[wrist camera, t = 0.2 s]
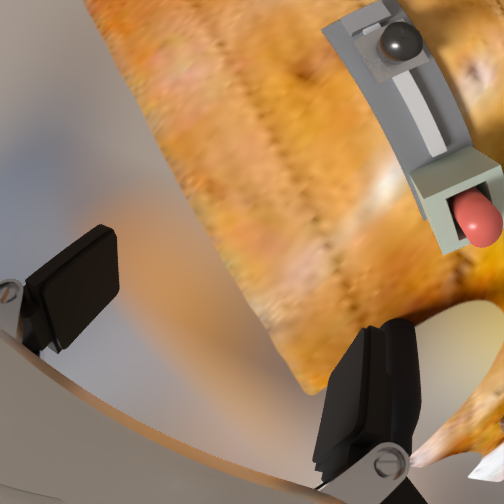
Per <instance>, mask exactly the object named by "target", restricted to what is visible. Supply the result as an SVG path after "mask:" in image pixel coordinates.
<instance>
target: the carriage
mask: <svg viewBox="0 0 504 504" xmlns="http://www.w3.org/2000/svg"><path fill="white" fill-rule="evenodd" d="M353 45H354V47H355V48H356V50H357V51H358V53H359V54H360V56H361V57H362V59H363V61H364V62H365V64H366V65H367V67H368V68H369V70H370V72H371V73H372V75H373V77H374V78H375V80H376V82H377V83H382V82H384V81H386V80H388V79H390V78H392V77H395V76H397V75H399V74H401V73H403V72H406V71H408V70H410V69H412V68H415V67H417V66H419V65H422V64H424V63H426V62H429V59H428V58H427V56H426V54H425V53H424V51H423V49H422V48H423V40H422V37H421V34H420V33H419V31H418V30H417V29H416V28H415V27H414V26H412V25H410V24H408V23H406V22H405V21H404V19H400V20H398V21H395V22H393V23H391V24H388V25H386V26H384V27H381V28H379V29H377V30H375V31H373V32H370V33H368V34H366V35H364V36H362V37H360V38H358V39H356V40H353Z"/></svg>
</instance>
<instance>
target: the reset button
mask: <svg viewBox="0 0 504 504" xmlns="http://www.w3.org/2000/svg"><path fill="white" fill-rule="evenodd" d="M449 208H450V211H451V213H452V214H453V216H454V217H455V219H456V221H457V222H458V224H459V225H460V227H461V228H462V230H463V232H464V233H465V235H466V237H467V238H468V240H469V241H470V243H471V244H473V245H474V246H476V247H488V246H490V245H492V244H493V243H494V242H496V241H497V239H498V238H499V237H500V235H501V233H502V229H503V218H502V215H501V213H500V212H499V211H498V209H497V208H496V207H495V206H494V205H493V204H492V203H491V202H490V201H489V200H488V199H487V198H486V197H485V196H484V195H483V194H482V193H481V192H480V191H479V190H478V189H477V188H476V187H475V186H473V187H471V188H469V189H466V190H464V191H462V192H460V193H457V194H455V195H453V196H451V197H450V198H449Z"/></svg>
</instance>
